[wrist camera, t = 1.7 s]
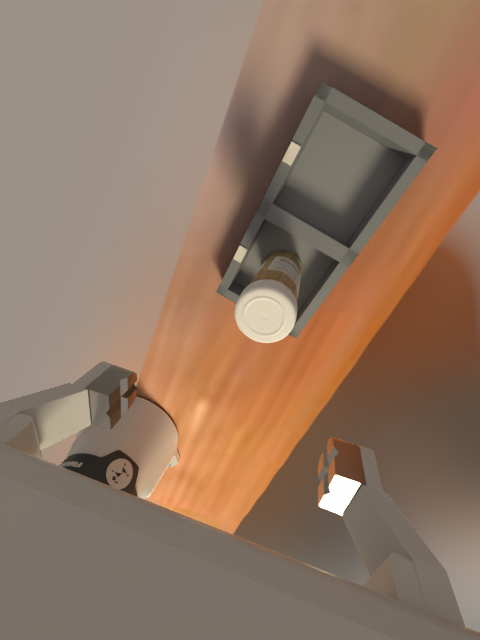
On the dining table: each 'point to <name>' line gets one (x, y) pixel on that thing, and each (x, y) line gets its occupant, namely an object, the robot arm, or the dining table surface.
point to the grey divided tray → (328, 196)
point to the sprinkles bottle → (270, 299)
